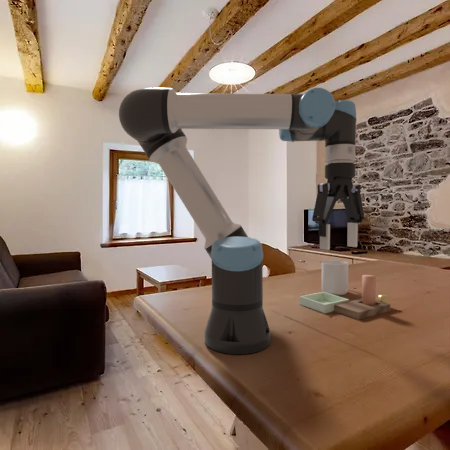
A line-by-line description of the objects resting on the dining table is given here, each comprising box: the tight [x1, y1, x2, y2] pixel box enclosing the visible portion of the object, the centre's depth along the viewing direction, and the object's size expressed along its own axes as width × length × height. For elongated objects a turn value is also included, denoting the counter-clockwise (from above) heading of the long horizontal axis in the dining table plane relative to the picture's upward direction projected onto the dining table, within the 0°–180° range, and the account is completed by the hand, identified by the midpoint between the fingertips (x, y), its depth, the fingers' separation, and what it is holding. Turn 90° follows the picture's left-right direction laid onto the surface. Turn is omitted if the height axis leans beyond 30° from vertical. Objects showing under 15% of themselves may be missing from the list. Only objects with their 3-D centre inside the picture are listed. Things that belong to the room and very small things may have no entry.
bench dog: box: [377, 293, 390, 304], centre depth 96 cm, size 3×3×4 cm
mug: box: [320, 259, 349, 296], centre depth 115 cm, size 12×9×11 cm
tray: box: [298, 291, 350, 315], centre depth 98 cm, size 10×10×3 cm
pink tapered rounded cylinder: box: [361, 274, 377, 306], centre depth 94 cm, size 4×4×10 cm
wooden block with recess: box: [333, 298, 391, 321], centre depth 93 cm, size 14×8×3 cm, turn 120°
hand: (338, 247), depth 86 cm, fingers open, 10 cm apart
